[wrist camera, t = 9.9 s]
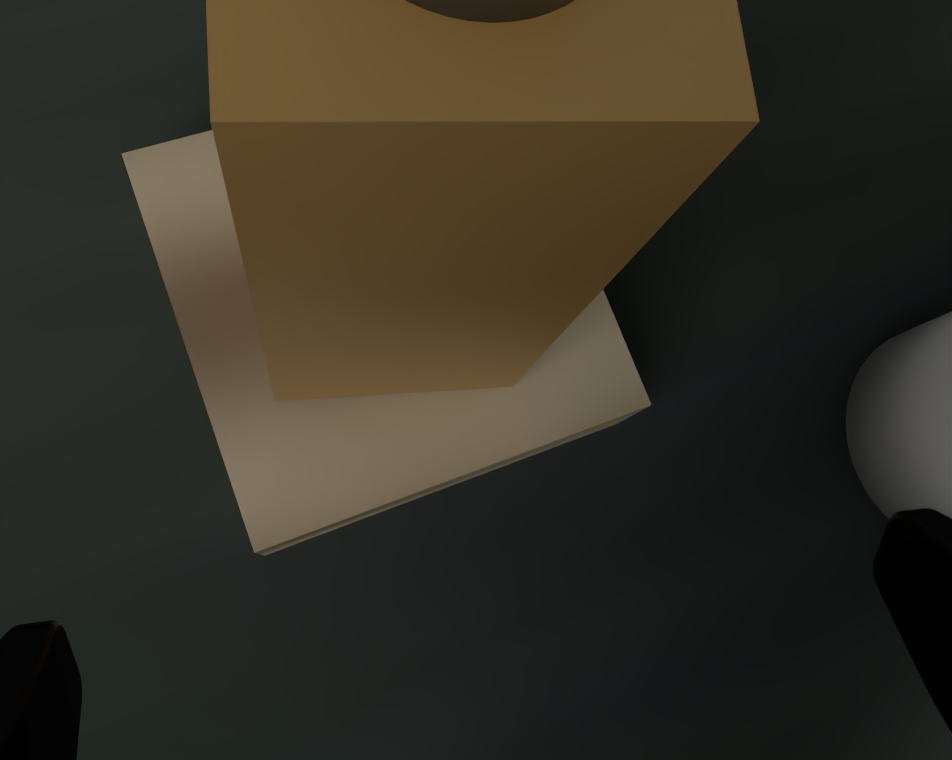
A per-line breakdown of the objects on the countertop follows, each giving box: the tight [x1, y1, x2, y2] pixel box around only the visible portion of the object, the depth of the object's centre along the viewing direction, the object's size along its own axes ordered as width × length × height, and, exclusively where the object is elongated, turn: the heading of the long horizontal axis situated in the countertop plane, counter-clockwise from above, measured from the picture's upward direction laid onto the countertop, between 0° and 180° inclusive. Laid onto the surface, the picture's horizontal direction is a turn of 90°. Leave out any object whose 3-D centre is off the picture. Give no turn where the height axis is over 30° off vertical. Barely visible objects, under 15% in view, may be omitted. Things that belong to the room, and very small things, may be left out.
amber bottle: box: [206, 0, 760, 401], centre depth 13 cm, size 5×5×12 cm
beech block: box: [122, 130, 651, 555], centre depth 20 cm, size 9×9×3 cm
